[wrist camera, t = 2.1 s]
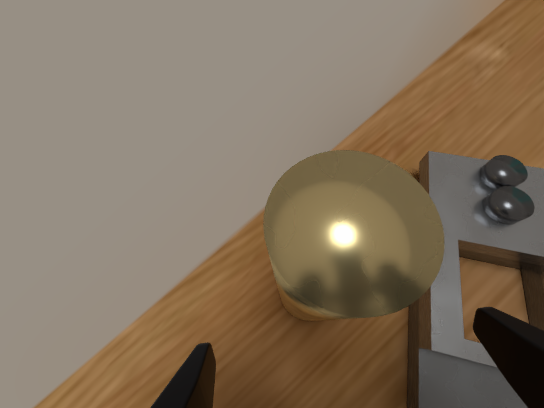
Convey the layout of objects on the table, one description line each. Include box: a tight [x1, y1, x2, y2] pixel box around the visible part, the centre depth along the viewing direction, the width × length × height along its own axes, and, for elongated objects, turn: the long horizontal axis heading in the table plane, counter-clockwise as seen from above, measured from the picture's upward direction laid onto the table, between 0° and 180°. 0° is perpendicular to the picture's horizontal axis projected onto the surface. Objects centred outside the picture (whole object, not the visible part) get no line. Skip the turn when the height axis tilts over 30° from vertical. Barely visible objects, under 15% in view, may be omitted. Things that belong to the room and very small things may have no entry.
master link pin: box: [264, 150, 444, 321], centre depth 12 cm, size 4×4×14 cm
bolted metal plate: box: [407, 151, 544, 408], centre depth 15 cm, size 24×10×4 cm, turn 166°
